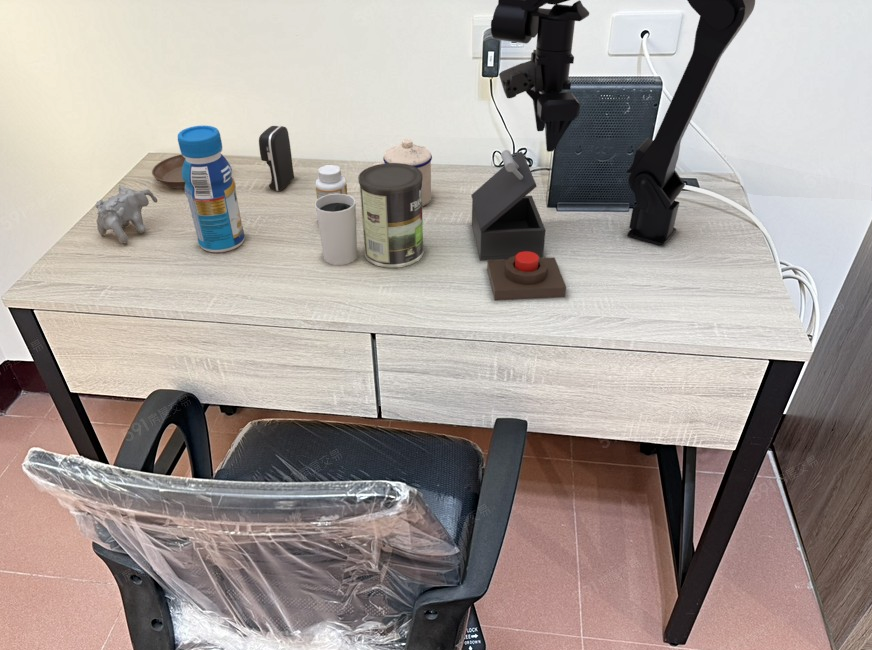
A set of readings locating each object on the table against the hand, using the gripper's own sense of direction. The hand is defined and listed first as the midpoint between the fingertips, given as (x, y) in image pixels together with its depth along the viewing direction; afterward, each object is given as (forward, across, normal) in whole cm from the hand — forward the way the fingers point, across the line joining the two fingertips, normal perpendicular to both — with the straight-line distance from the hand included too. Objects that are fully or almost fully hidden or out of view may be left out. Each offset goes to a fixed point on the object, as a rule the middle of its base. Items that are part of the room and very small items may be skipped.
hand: (544, 140), depth 125 cm
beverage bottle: (+13, +8, -58) cm, 60 cm away
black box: (+13, +12, -8) cm, 19 cm away
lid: (+4, +12, -9) cm, 15 cm away
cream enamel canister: (+13, -6, -26) cm, 29 cm away
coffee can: (+13, +14, -28) cm, 34 cm away
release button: (+10, +26, -7) cm, 29 cm away
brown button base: (+13, +26, -7) cm, 30 cm away
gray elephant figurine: (+13, +1, -76) cm, 77 cm away
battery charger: (+13, -15, -50) cm, 54 cm away
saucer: (+13, -20, -69) cm, 73 cm away
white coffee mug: (+13, +15, -37) cm, 42 cm away
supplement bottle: (+13, +2, -38) cm, 40 cm away
